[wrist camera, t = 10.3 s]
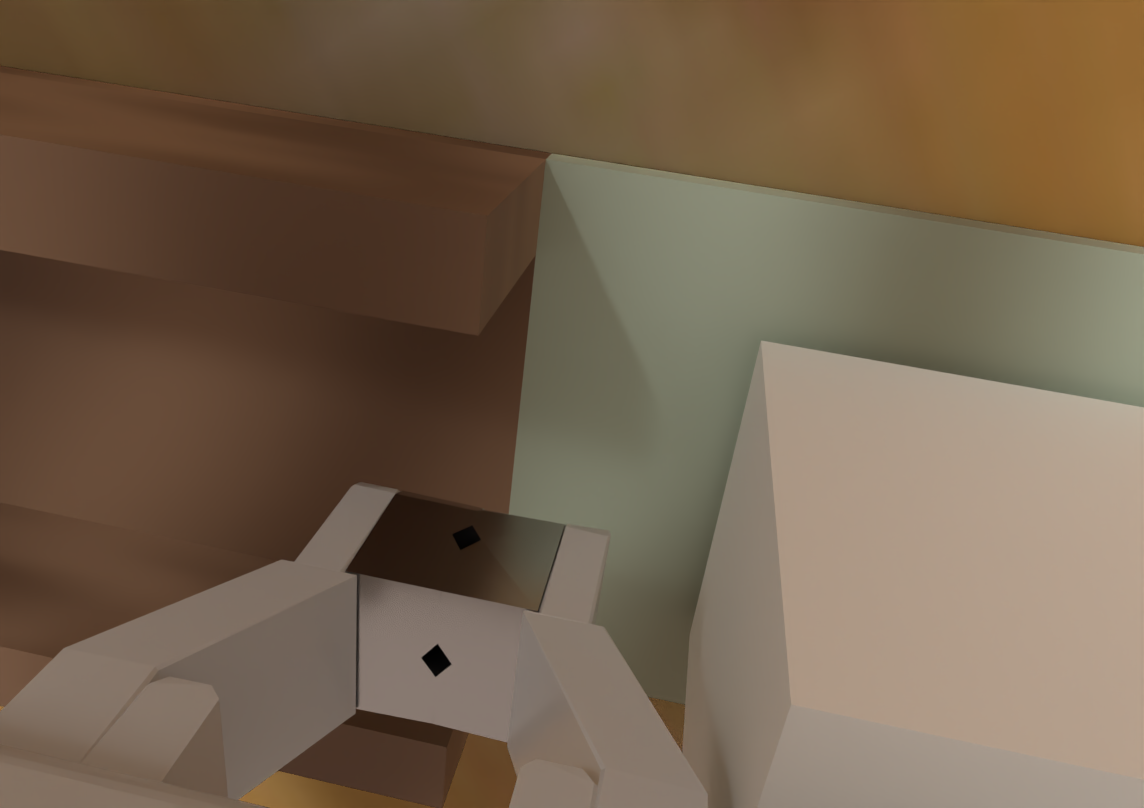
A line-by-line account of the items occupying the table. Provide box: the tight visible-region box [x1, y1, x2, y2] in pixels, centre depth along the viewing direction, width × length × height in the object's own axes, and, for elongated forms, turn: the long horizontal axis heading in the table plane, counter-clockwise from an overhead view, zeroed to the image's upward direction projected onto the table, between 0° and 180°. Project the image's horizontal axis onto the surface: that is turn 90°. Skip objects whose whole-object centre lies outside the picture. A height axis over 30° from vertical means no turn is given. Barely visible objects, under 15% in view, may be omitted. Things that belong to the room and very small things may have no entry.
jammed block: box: [682, 341, 1144, 808], centre depth 9 cm, size 7×5×6 cm
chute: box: [0, 66, 1144, 808], centre depth 12 cm, size 27×8×3 cm, turn 83°
